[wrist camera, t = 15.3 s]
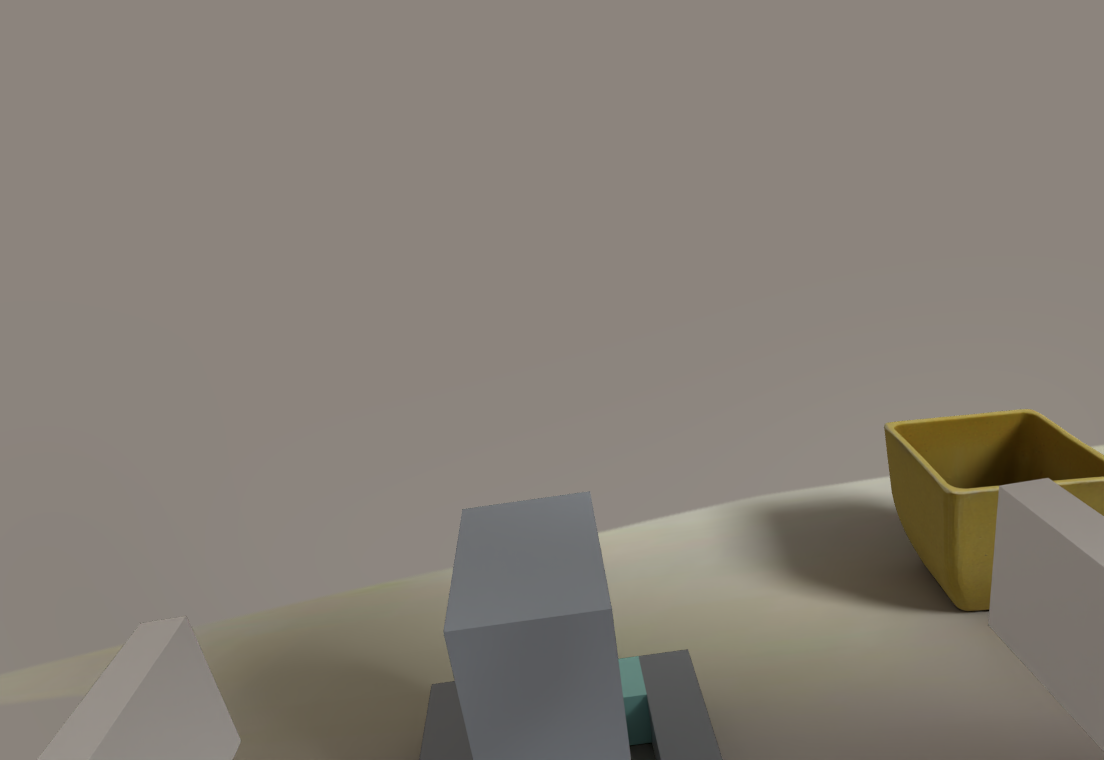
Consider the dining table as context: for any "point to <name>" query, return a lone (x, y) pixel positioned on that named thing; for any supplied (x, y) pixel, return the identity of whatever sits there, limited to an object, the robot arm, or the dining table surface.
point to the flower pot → (977, 486)
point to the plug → (535, 634)
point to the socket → (649, 700)
